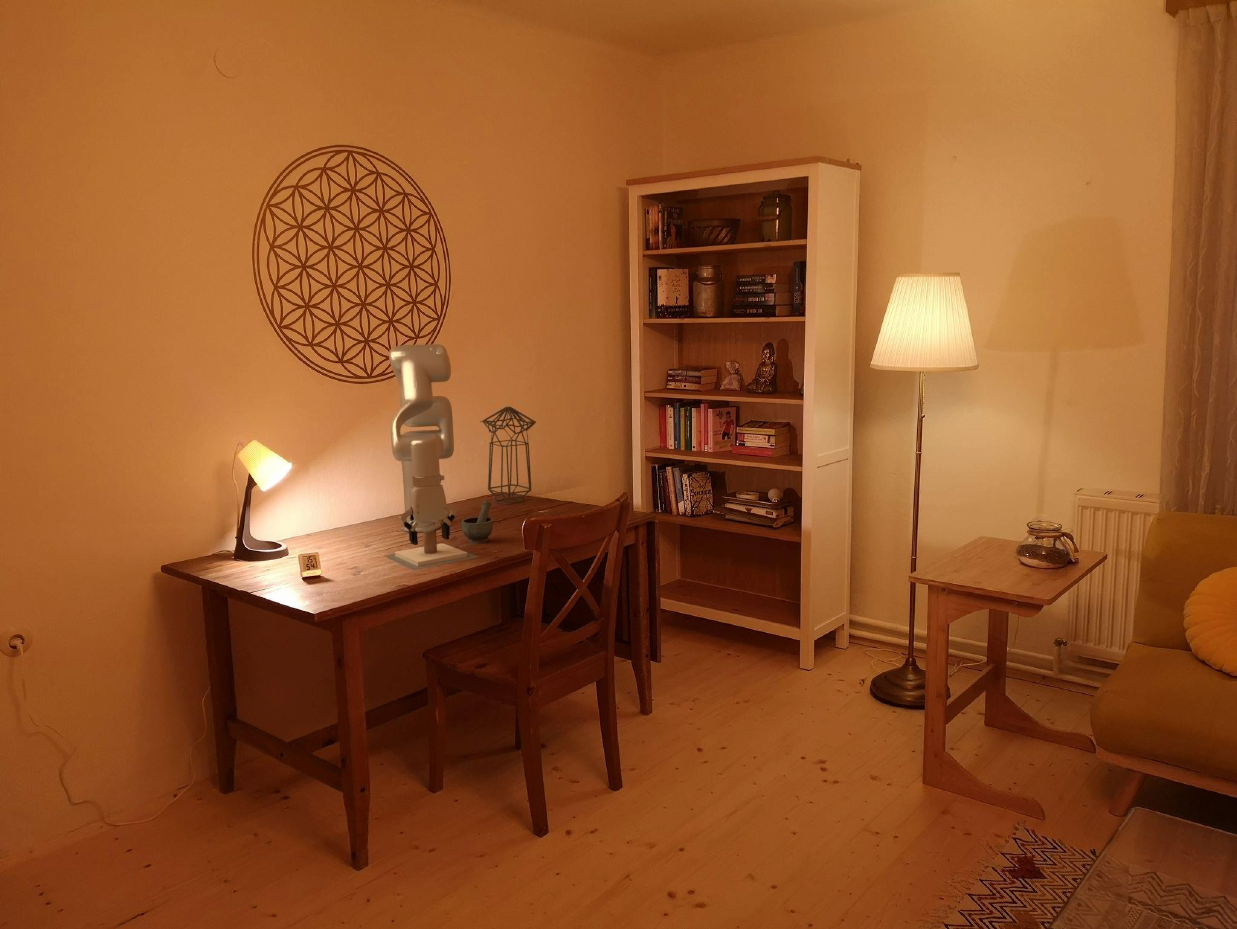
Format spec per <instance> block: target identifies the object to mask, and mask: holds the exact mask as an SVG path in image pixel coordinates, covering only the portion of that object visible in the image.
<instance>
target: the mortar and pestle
mask: <svg viewBox="0 0 1237 929" xmlns="http://www.w3.org/2000/svg"><path fill="white" fill-rule="evenodd" d="M481 506H482V507H481V510H480V511H479V515H478V516H475V517H474V516H472V517H468V518H464V519H461V520H460V521H461V522H460V524H461V531H462V534H463V535H464V537H466V538H467V539H468V541H467V542H468V543H470V544H480V543H481V544H482V543H486V542H489V537H490V536H491V534H492V533H493V530H494V518H493V517H489V513H490V509H491V508H490V507H492V502H491V501H488V500H483V501H482V505H481Z"/></svg>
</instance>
